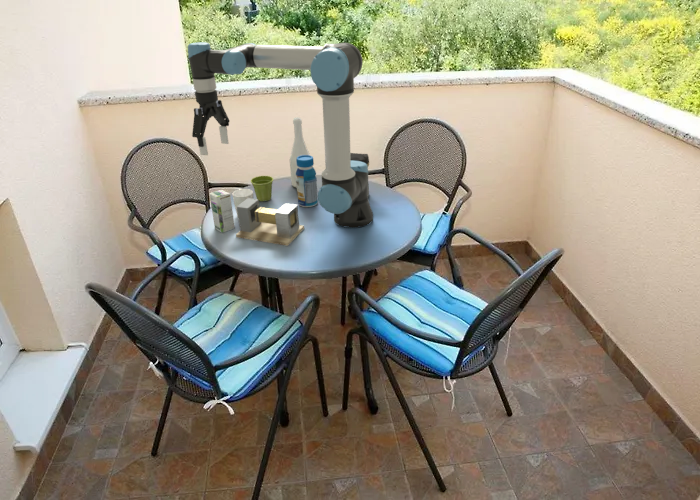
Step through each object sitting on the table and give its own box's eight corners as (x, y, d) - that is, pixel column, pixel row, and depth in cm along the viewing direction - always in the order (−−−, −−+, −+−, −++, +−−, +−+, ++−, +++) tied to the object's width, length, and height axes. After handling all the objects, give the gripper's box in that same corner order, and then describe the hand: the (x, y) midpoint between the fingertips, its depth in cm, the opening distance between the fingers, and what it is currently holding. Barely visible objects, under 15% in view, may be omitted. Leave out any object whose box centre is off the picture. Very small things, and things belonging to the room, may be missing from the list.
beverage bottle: (315, 208, 208) (312, 161, 198) (295, 207, 209) (291, 160, 199) (320, 200, 215) (317, 154, 205) (300, 199, 216) (297, 153, 206)
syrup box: (214, 228, 194) (208, 193, 187) (227, 223, 198) (222, 188, 190) (222, 233, 191) (216, 197, 183) (235, 228, 194) (230, 192, 187)
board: (304, 228, 192) (304, 225, 192) (287, 245, 181) (287, 242, 180) (255, 221, 199) (254, 218, 198) (236, 237, 188) (235, 234, 187)
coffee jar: (344, 198, 216) (343, 156, 206) (348, 191, 222) (347, 150, 213) (367, 200, 214) (366, 157, 204) (370, 192, 220) (370, 151, 211)
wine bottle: (309, 189, 225) (304, 121, 210) (288, 188, 227) (282, 121, 212) (315, 181, 233) (311, 115, 218) (295, 180, 235) (290, 114, 220)
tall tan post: (295, 222, 186) (294, 211, 184) (290, 227, 183) (289, 216, 181) (261, 217, 191) (260, 206, 189) (255, 221, 187) (254, 211, 185)
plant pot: (266, 205, 212) (263, 185, 207) (248, 200, 216) (245, 181, 212) (279, 196, 219) (277, 177, 214) (262, 192, 223) (260, 174, 219)
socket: (261, 223, 194) (258, 199, 190) (250, 232, 188) (247, 208, 183) (251, 221, 196) (247, 198, 191) (240, 230, 189) (236, 206, 185)
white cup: (251, 220, 199) (248, 197, 194) (232, 219, 201) (229, 196, 196) (258, 212, 206) (255, 189, 201) (240, 211, 207) (237, 188, 202)
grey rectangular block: (299, 228, 189) (297, 204, 185) (289, 238, 183) (287, 214, 178) (287, 227, 191) (285, 203, 186) (277, 236, 185) (274, 212, 180)
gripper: (216, 82, 190) (224, 138, 200) (174, 97, 169) (186, 159, 180) (233, 83, 187) (241, 139, 198) (193, 99, 167) (204, 161, 178)
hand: (215, 149), depth 189 cm, fingers open, 13 cm apart
